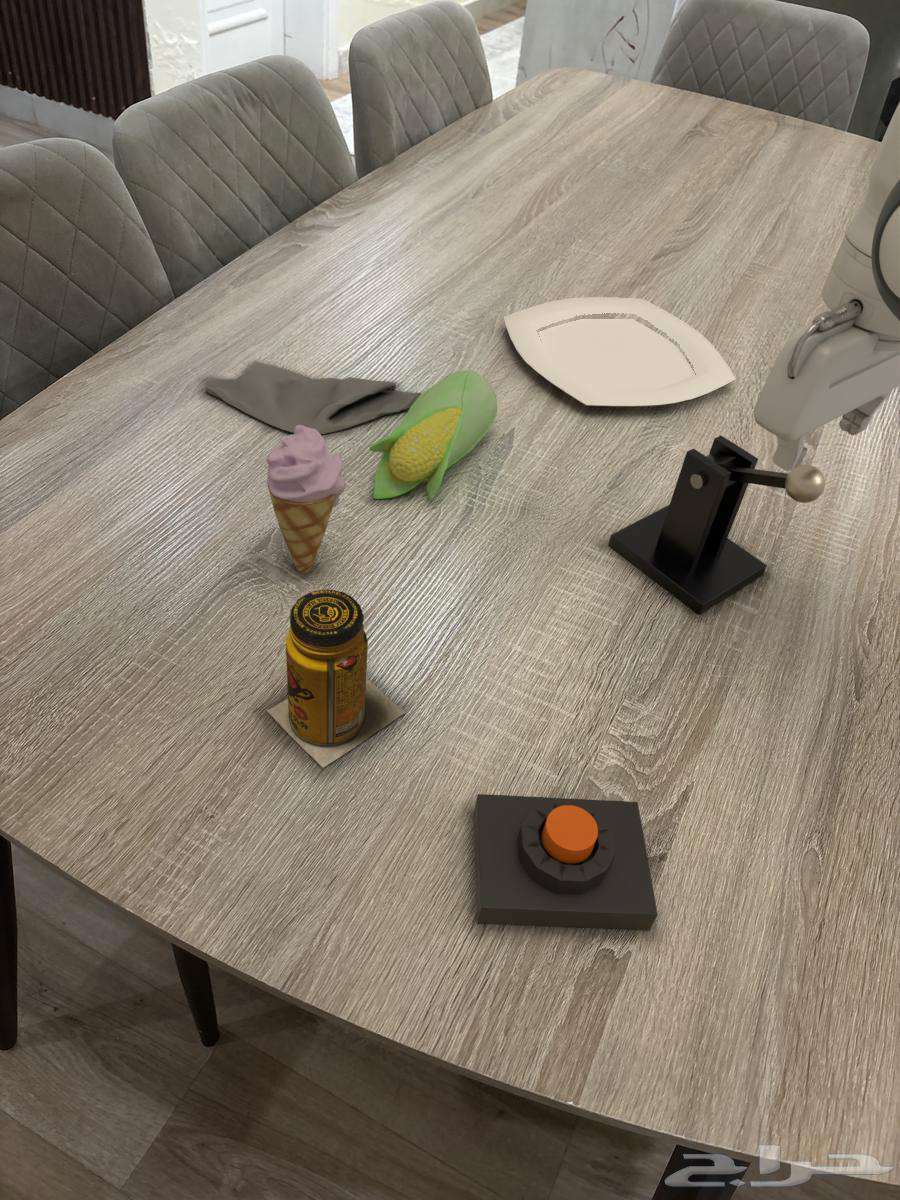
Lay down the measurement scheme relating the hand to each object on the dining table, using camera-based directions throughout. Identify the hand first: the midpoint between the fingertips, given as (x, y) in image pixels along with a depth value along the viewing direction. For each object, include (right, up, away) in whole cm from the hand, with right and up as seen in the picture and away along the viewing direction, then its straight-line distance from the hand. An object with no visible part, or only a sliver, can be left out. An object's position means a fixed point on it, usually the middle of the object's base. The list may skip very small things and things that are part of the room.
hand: (819, 446), depth 77 cm
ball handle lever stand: (-7, -9, +17) cm, 20 cm away
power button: (-22, -29, -12) cm, 39 cm away
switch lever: (-3, -3, +7) cm, 8 cm away
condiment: (-39, -22, -1) cm, 45 cm away
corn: (-32, +3, +25) cm, 41 cm away
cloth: (-46, +10, +31) cm, 56 cm away
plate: (-9, +18, +45) cm, 50 cm away
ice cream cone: (-44, -10, +11) cm, 46 cm away
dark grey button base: (-23, -32, -9) cm, 40 cm away
